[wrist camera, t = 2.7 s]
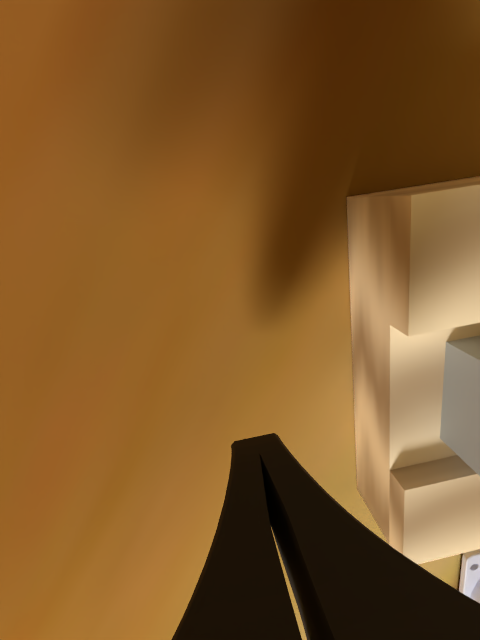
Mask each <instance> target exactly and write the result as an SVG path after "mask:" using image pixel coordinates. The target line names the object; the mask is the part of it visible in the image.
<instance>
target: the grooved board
mask: <svg viewBox="0 0 480 640" xmlns="http://www.w3.org/2000/svg"><path fill="white" fill-rule="evenodd" d="M347 222H348V249H349V277H350V304H351V331H352V358H353V386H354V413H355V440H356V467H357V490H358V492H359V493H360V495H361V497H362V498H363V500H364V502H365V504H366V505H367V507H368V509H369V511H370V512H371V514H372V516H373V517H374V519H375V521H376V523H377V524H378V526H379V528H380V530H381V531H382V533H383V535H384V536H385V538H386V540H387V542H388V543H389V545H390V546H391V547H393V548H394V549H396V550H397V551H399V552H400V553H401V554H403V555H404V556H406V557H407V558H409V559H410V560H412V561H413V562H415V563H416V564H421V563H425V562H429V561H433V560H437V559H441V558H445V557H449V556H453V555H458V554H462V553H466V552H470V551H474V550H478V549H480V476H479V475H478V474H477V473H476V472H475V471H474V470H473V469H472V468H471V467H470V466H468V465H467V464H466V463H465V462H464V461H463V460H462V459H461V458H460V457H459V456H458V455H457V454H456V453H455V452H454V451H453V450H452V449H451V448H450V447H448V446H447V445H446V444H445V443H444V442H443V441H442V440H441V439H440V427H441V411H442V396H443V380H444V364H445V348H446V342H448V341H453V340H458V339H464V338H469V337H474V336H479V335H480V176H477V177H471V178H464V179H458V180H451V181H445V182H439V183H432V184H426V185H420V186H413V187H407V188H401V189H394V190H388V191H381V192H375V193H369V194H362V195H356V196H350V197H347Z"/></svg>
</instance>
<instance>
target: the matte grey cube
mask: <svg viewBox="0 0 480 640" xmlns="http://www.w3.org/2000/svg"><path fill="white" fill-rule="evenodd" d="M440 439H441V440H442V441H443V442H444V443H445V444H446V445H447V446H448V447H450V448H451V449H452V450H453V451H454V452H455V453H456V454H457V455H458V456H459V457H460V458H461V459H462V460H463V461H464V462H465V463H466V464H467V465H468V466H470V467H471V468H472V469H473V470H474V471H475V472H476V473H477V474H478V475H479V476H480V335H479V336H474V337H469V338H464V339H458V340H453V341H448V342H446V348H445V364H444V380H443V396H442V411H441V427H440Z"/></svg>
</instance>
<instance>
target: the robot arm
mask: <svg viewBox="0 0 480 640" xmlns="http://www.w3.org/2000/svg"><path fill="white" fill-rule="evenodd" d="M231 448H232V458H231V468H230V475H229V480H228V485H227V490H226V495H225V500H224V504H223V508H222V512H221V515H220V519H219V522H218V526H217V530H216V533H215V536H214V539H213V542H212V545H211V548H210V551H209V554H208V557H207V560H206V562H205V565H204V568H203V570H202V573H201V575H200V578H199V580H198V583H197V585H196V588H195V590H194V593H193V595H192V597H191V600H190V602H189V604H188V607H187V609H186V611H185V613H184V615H183V618H182V620H181V622H180V624H179V626H178V628H177V630H176V632H175V634H174V636H173V638H172V640H302V638H301V635H300V631H299V628H298V624H297V621H296V617H295V614H294V610H293V607H292V603H291V599H290V596H289V592H288V589H287V585H286V581H285V578H284V574H283V570H282V567H281V563H280V559H279V556H278V552H277V548H276V545H275V541H274V537H273V533H274V536H275V539H276V542H277V545H278V548H279V551H280V554H281V557H282V560H283V563H284V566H285V569H286V572H287V575H288V578H289V581H290V584H291V587H292V590H293V593H294V596H295V599H296V602H297V605H298V609H299V612H300V615H301V619H302V622H303V626H304V629H305V633H306V637H307V640H480V549H478V550H474V551H470V552H466V553H464V554H463V557H462V567H461V576H460V586H459V591H458V590H456V589H455V588H453V587H451V586H450V585H448V584H447V583H445V582H443V581H442V580H440V579H439V578H437V577H435V576H434V575H432V574H431V573H429V572H428V571H426V570H425V569H423V568H422V567H420V566H419V565H417V564H416V563H415V562H413V561H412V560H410V559H409V558H407V557H406V556H404V555H403V554H401V553H400V552H399V551H397V550H396V549H394V548H393V547H391V546H390V545H389V544H387V543H386V542H385V541H383V540H382V539H381V538H379V537H378V536H377V535H375V534H374V533H373V532H372V531H370V530H369V529H368V528H367V527H365V526H364V525H363V524H362V523H360V522H359V521H358V520H357V519H356V518H354V517H353V516H352V515H351V514H350V513H349V512H347V511H346V510H345V509H344V508H343V507H342V506H341V505H340V504H339V503H337V502H336V501H335V500H334V499H333V498H332V497H331V496H330V495H329V494H328V493H327V492H326V491H325V490H324V489H323V488H322V487H321V486H320V485H319V484H318V483H317V482H316V481H315V480H314V479H313V478H312V477H311V476H310V475H309V474H308V472H307V471H306V470H305V469H304V468H303V467H302V466H301V465H300V464H299V462H298V461H297V460H296V459H295V458H294V457H293V455H292V454H291V453H290V452H289V450H288V449H287V448H286V446H285V445H284V444H283V442H282V441H281V440H280V438H279V437H278V435H276V434H275V433H272V434H267V435H262V436H258V437H253V438H248V439H243V440H239V441H234V443H233V444H232V445H231ZM271 527H272V530H273V533H272V530H271Z"/></svg>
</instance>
